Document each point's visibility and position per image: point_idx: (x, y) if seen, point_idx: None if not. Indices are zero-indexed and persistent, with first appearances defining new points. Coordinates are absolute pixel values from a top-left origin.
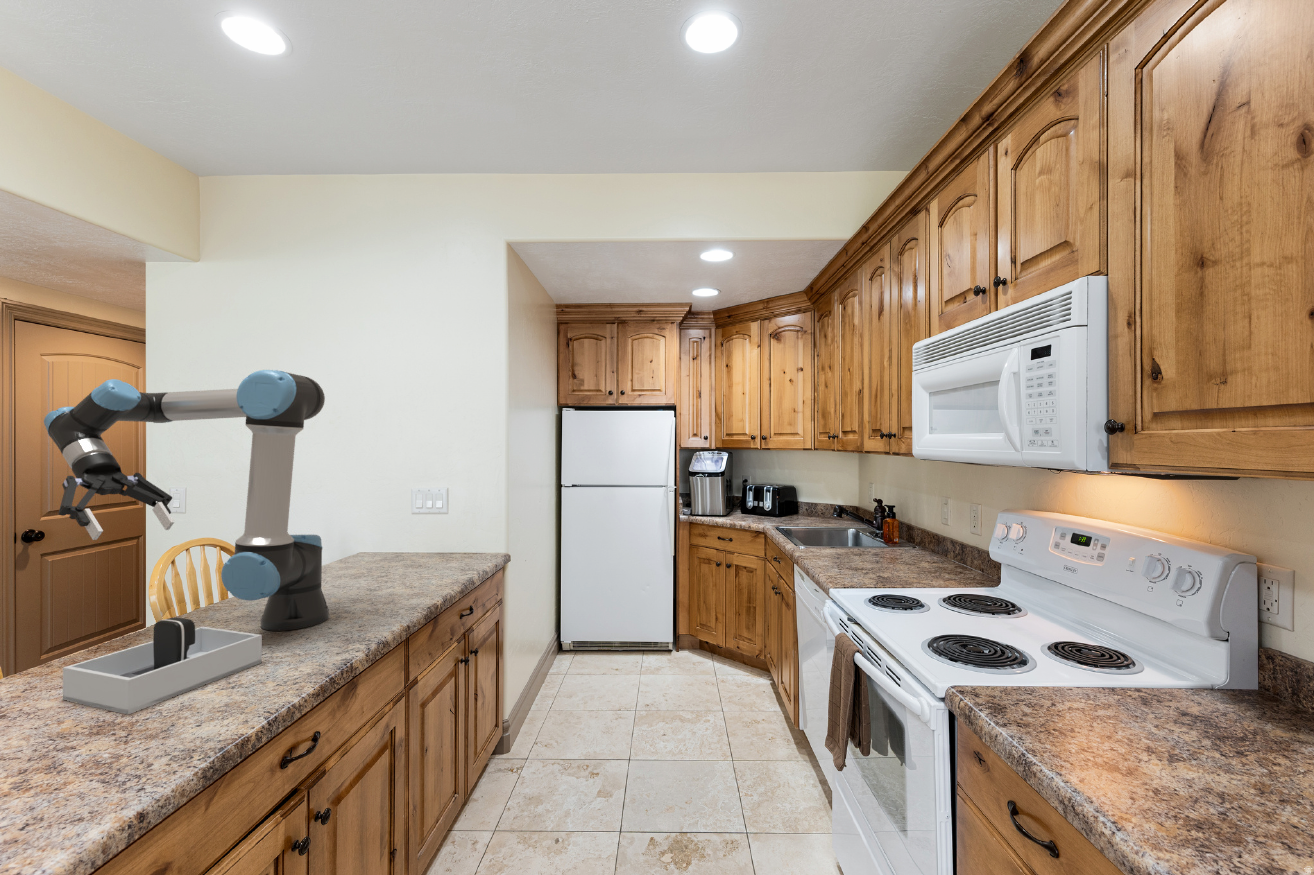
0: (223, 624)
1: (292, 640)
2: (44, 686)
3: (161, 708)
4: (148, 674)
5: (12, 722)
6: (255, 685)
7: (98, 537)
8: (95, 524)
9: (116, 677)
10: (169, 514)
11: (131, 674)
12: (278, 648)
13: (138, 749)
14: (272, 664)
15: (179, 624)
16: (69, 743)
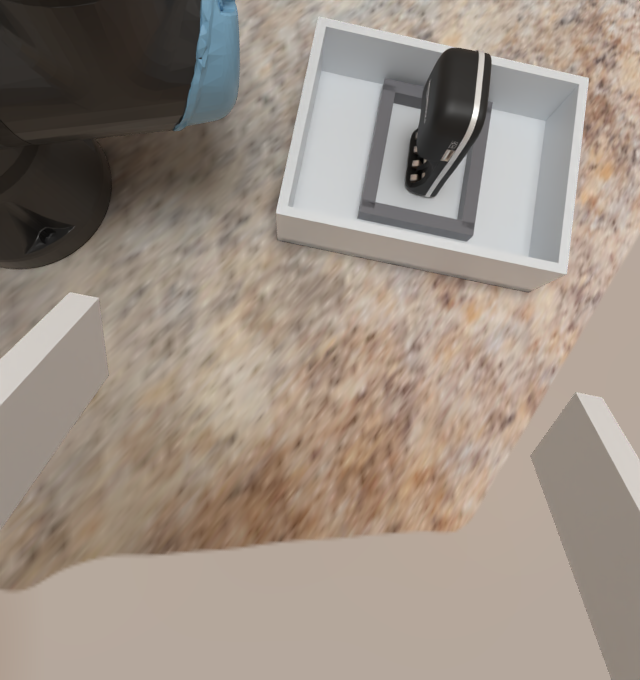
0: None
1: None
2: (485, 403)
3: None
4: (554, 71)
5: (608, 284)
6: (413, 3)
7: (539, 443)
8: (630, 452)
9: (583, 112)
10: (13, 348)
11: (465, 215)
12: None
13: (626, 10)
14: None
15: (483, 51)
16: (636, 120)
